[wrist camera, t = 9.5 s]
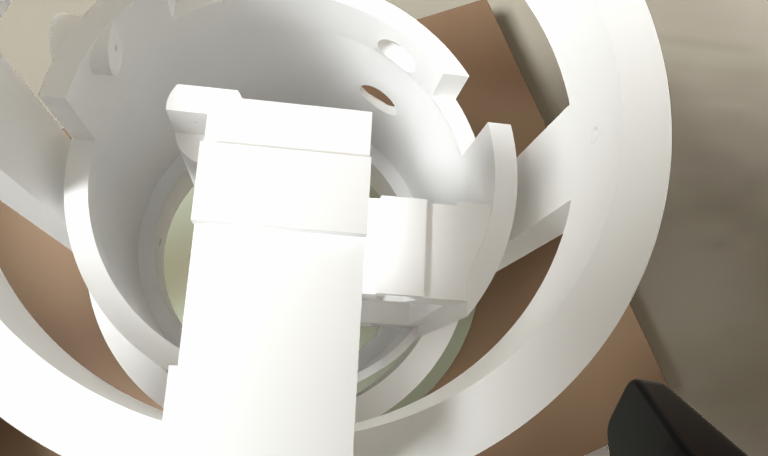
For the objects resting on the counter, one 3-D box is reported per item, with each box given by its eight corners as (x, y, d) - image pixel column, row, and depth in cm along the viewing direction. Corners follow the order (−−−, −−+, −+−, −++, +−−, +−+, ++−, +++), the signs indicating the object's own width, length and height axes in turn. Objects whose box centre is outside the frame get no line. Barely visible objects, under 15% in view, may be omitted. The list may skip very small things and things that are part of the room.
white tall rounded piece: (134, 422, 18) (-431, 519, 4) (168, 163, 20) (-128, -463, 5) (403, 433, 19) (794, 549, 5) (413, 185, 21) (721, -298, 6)
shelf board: (653, 408, 22) (835, 414, 15) (-94, 766, 17) (-365, 1034, 10) (474, 22, 24) (556, -137, 17) (-230, 243, 19) (-532, 153, 12)
